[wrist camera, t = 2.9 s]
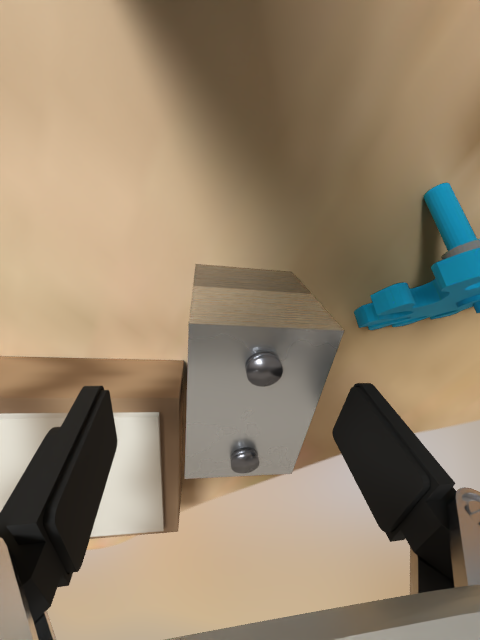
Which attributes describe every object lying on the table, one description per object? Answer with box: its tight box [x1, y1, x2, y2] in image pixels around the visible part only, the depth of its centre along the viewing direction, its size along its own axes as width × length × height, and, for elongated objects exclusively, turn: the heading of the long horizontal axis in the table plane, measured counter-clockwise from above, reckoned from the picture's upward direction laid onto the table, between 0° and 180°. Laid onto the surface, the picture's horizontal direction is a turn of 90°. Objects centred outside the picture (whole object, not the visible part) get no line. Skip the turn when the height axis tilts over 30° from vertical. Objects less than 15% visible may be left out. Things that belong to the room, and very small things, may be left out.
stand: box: [0, 357, 184, 539], centre depth 16 cm, size 14×14×3 cm
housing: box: [185, 264, 344, 479], centre depth 12 cm, size 5×8×6 cm, turn 173°
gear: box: [354, 183, 480, 330], centre depth 11 cm, size 11×6×10 cm
